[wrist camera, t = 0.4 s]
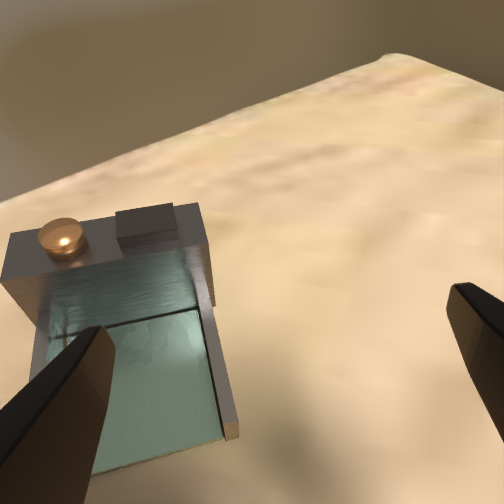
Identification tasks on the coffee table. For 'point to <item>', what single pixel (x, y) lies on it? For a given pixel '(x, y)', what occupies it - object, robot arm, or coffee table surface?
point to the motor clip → (132, 322)
